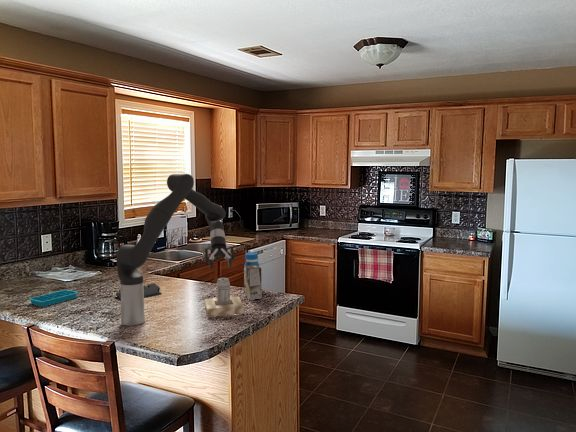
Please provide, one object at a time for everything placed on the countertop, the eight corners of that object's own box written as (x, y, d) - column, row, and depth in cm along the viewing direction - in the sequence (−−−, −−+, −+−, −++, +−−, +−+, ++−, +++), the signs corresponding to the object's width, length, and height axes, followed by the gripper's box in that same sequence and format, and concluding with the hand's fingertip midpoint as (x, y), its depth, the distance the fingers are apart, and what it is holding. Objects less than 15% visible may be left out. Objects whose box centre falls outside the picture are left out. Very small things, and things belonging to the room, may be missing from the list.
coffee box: (262, 299, 225) (261, 268, 224) (249, 300, 223) (249, 269, 221) (256, 294, 234) (256, 264, 232) (245, 296, 232) (244, 265, 230)
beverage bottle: (257, 292, 239) (257, 255, 237) (242, 291, 241) (241, 254, 239) (261, 288, 248) (261, 252, 246) (246, 287, 249) (246, 251, 247)
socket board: (207, 317, 197) (207, 308, 197) (204, 307, 213) (204, 299, 212) (243, 314, 201) (243, 306, 201) (238, 304, 217) (238, 296, 216)
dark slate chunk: (112, 296, 233) (111, 287, 232) (152, 289, 248) (151, 280, 247) (123, 303, 222) (123, 293, 221) (165, 294, 236) (164, 286, 236)
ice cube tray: (80, 297, 231) (79, 292, 231) (42, 308, 213) (42, 302, 213) (65, 295, 236) (65, 289, 236) (27, 304, 219) (27, 298, 218)
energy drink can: (230, 308, 210) (230, 277, 209) (229, 312, 204) (229, 280, 203) (217, 308, 210) (217, 277, 209) (216, 312, 204) (215, 280, 203)
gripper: (203, 236, 221) (206, 263, 211) (232, 234, 225) (236, 261, 215) (203, 245, 227) (205, 272, 217) (231, 243, 230) (234, 270, 220)
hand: (220, 267), depth 216 cm, fingers open, 8 cm apart
